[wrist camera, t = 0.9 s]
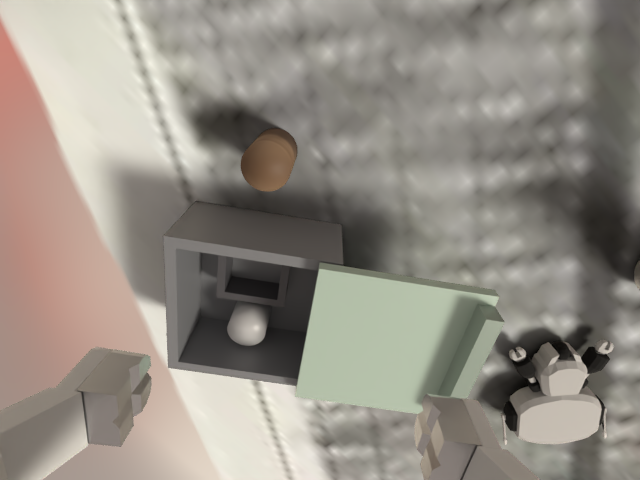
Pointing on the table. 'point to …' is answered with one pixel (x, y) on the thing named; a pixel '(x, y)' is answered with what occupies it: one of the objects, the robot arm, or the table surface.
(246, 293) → the housing
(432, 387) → the lid
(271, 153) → the brown rounded cylinder
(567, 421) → the robot toy
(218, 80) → the table surface
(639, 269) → the plastic bottle
